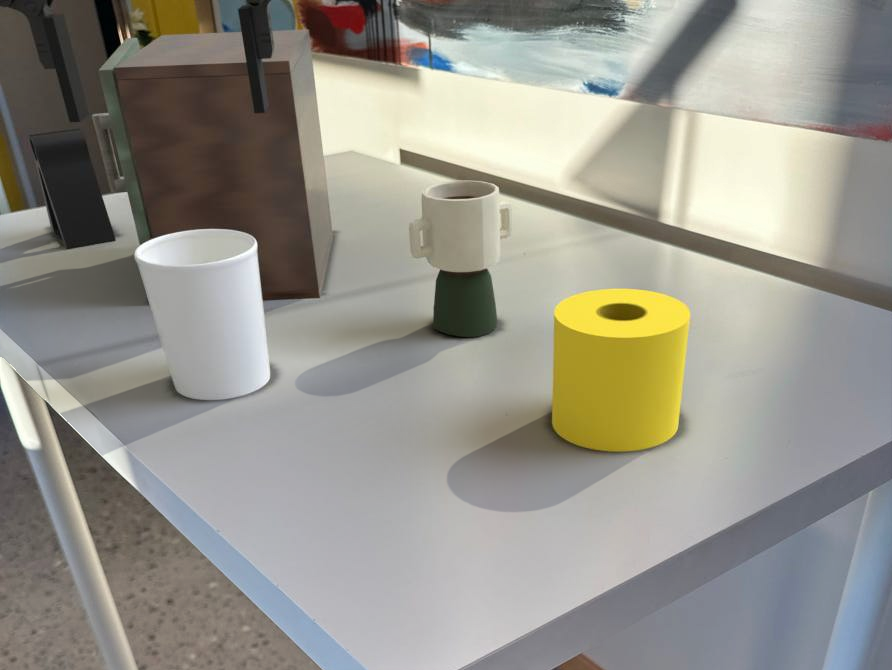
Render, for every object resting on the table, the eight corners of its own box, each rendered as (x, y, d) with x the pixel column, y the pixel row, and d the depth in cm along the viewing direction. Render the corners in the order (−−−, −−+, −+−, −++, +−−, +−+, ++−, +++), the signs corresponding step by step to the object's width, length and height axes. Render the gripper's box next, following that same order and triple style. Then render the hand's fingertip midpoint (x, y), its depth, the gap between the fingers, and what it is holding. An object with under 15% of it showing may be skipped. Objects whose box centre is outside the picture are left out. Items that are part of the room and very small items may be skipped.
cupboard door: (103, 310, 102) (39, 73, 88) (127, 247, 118) (76, 40, 105) (165, 305, 102) (111, 69, 89) (181, 243, 119) (137, 37, 106)
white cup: (161, 374, 88) (128, 237, 81) (268, 356, 91) (245, 222, 84) (174, 418, 81) (139, 273, 74) (289, 397, 84) (267, 255, 76)
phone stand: (116, 241, 121) (89, 135, 113) (67, 250, 119) (36, 142, 111) (99, 224, 127) (72, 122, 120) (52, 232, 125) (22, 129, 117)
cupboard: (168, 306, 102) (113, 67, 88) (203, 243, 119) (161, 34, 106) (320, 299, 103) (289, 60, 89) (333, 237, 120) (308, 29, 106)
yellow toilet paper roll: (526, 430, 78) (526, 314, 72) (606, 390, 83) (612, 279, 77) (623, 471, 72) (632, 349, 66) (702, 426, 78) (717, 309, 72)
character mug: (491, 309, 99) (488, 172, 91) (532, 330, 94) (533, 187, 86) (399, 333, 95) (387, 191, 86) (437, 356, 90) (428, 208, 82)
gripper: (-143, -273, 56) (-14, 132, 69) (287, -290, 57) (334, 116, 70) (-91, -259, 62) (19, 112, 75) (299, -275, 63) (340, 96, 76)
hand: (171, 114), depth 73 cm, fingers open, 13 cm apart
